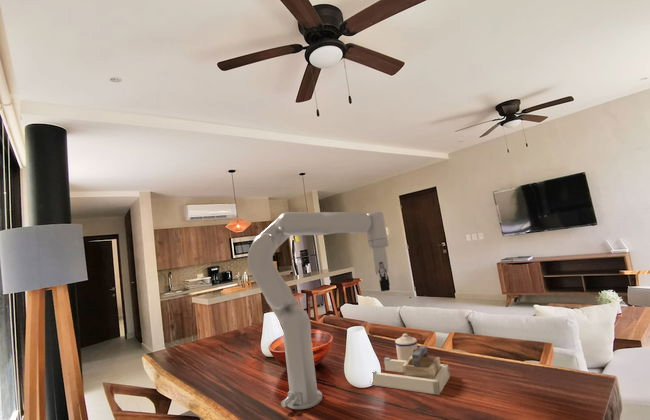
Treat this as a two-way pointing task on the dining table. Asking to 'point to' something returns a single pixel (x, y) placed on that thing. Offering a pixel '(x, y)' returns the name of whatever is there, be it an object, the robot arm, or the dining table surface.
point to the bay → (410, 378)
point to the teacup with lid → (405, 347)
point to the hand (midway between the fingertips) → (385, 288)
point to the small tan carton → (422, 364)
